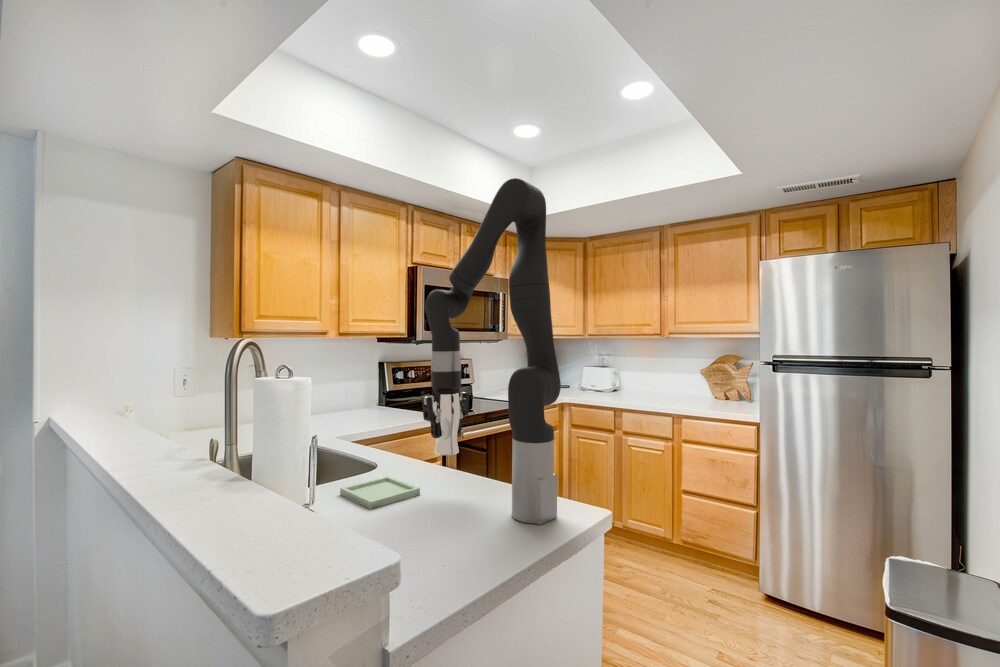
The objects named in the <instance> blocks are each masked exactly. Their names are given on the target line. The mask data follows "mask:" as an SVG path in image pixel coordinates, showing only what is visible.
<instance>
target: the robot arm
mask: <svg viewBox="0 0 1000 667" xmlns="http://www.w3.org/2000/svg"><path fill="white" fill-rule="evenodd" d="M545 198H546V197H545V196H544V193H543V192H542V190H540V188H538V187H537V186H534V185H532V184H531V183H529V182H527V181H525V180H524V179H522V178H518V177H516V178H515V177H514V178H510V179H508V180H506V181H504V182H503V183H502V185H500V187H499V188H498V190H497V191H496V193H495V195H494V197H493V199H492V201H491V204H490V205H489V207H488V209H487V211H486V213H485V215H484V217H483V219H482V222H481V223H480V225H479V227H478V229H477V231H476V232H475V235H474V237H473V239H472V240H471V243H470V244H469V246H468V248H467V249H466V251H465V252H464V253H463V255H462V256H461V258H460V259H459V261H458V262H457V263H456V265H455V266H454V267H453V270H452V271H451V272H450V274H449V277H448V279H449V282H450V284H451V285H452V287H451V288H450V290H444V289H434V290H432V291H430V292H429V294H428V295H427V297H426V299H425V304H424V308H425V309H424V310H425V315H426V318H427V324H428V326H429V329H430V334H431V360H430V371H431V372H430V377H431V378H430V381H431V382H430V383H431V384H430V385H431V389H432V394H431V395H429V396H422V397H421V404H422V405H421V406H422V415H423V420H424V421H427V422H429V423H430V434H431V437H432V438H433V439H436V438H440V423H439V421H440V414H441V409H440V410H439V411H437V412H436V413H437V415H436V417H434V412H435V411H434V410H433V403H435V400H436V402H437V403H439V399H440V394H456V393H457V392H459V398H460V420H459V427H458V433H457V435H460V434H461V433H462V430H463V425H462V424H463V418H464V417H466V416H467V417H468V415H469V409H470V408H469V406H470V405H469V404H470V393H469V392H464V391H461V390H460V388H461V387H462V358H461V343H460V342H461V338H460V337H461V336H460V331H459V330H458V329H456V327H455V328H454V327H453V326H452V325H451V321H450V319H456V318H459V317H460V316H461V315H462V314H463V313H465V311H466V310H467V307H468V306H469V303H470V302H471V298H472V296H473V293H474V291H475V289H476V287H477V286H478V285H479V283H481V281H482V279H483V278H484V277H485V275H486V274H487V272H488V271H489V269H490V267H491V265H492V263H493V259H494V255H495V251H496V248H497V244H498V242H499V240H500V238H502V235H503V233H504V232H505V231H506V230H507V229H508V227H509V226H510V225H511V224H512V223H514V225H515V228H516V241H517V247H516V248H517V250H516V254H515V259H514V261H513V263H512V267H511V269H510V270H511V271H510V273H509V277H508V295H509V308H510V312H511V315H512V318H513V320H514V322H515V324H516V326H517V328H518V330H519V333H520V334H521V336H522V339H523V341H524V344H525V348H526V355H527V356H526V357H527V366H525V367H520V368H518V369H516V370H515V371H514V372H513V373H512V374H511V376H510V379H509V381H508V385H507V387H508V388H507V401H508V402H507V403H508V404H507V405H508V422H509V426H510V429H511V432H512V440H511V441H512V444H511V445H512V446H511V447H512V451H511V452H512V453H511V454H512V455H511V456H512V457H511V458H512V459H511V464H512V465H511V516H512V518H513V519H515V520H516V521H518V522H522V523H527V524H536V525H540V526H541V525H543V524H545V523H548V522H549V521H551V520H554V519H556V518H557V517H558V473H557V474H556V473H554V472H555V470H554V469H555V468H554V465H555V464H554V461H555V460H554V454H555V452H554V451H555V449H554V448H555V429H554V426H553V425H552V424H550V423H548V422H547V421H546V419H545V418H546V417H545V407H547V406H551V405H553V404H554V403H555V402H556V401H557V400H558V398H559V397H560V393H561V377H560V370H559V365H558V360H557V356H556V349H555V343H554V331H553V320H552V309H551V291H550V290H551V289H550V282H549V273H548V272H549V270H548V257H547V256H548V255H547V247H546V246H547V243H546V242H547V241H546V237H547V236H546V233H547V202H546V199H545ZM433 401H434V402H433Z"/></svg>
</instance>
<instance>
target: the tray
mask: <svg viewBox="0 0 1000 667" xmlns="http://www.w3.org/2000/svg"><path fill="white" fill-rule="evenodd" d="M339 489H340V490H339V493H340V496H342V497H344V498H347V499H349V500H351V501H353V502H355V503H356V504H360V505H362V506H364V507H365V508H367V509H369V510H373V509H375V508H380V507H383V506H386V505H390V504H393V503H396V502H399V501H402V500H406V499H410V498H412V497H416V496H419V495H421V488H420V487H419V486H415V485H413V484H410V483H408V482H405V481H402V480H401V479H397V478H394V477H392V476H389V475H388V476H384V477H383V476H382V477H380V478H376V479H372V480H368V481H364V482H360V483H355V484H352V485H347V486H343V487H340V488H339Z"/></svg>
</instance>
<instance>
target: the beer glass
mask: <svg viewBox="0 0 1000 667" xmlns="http://www.w3.org/2000/svg"><path fill="white" fill-rule="evenodd" d="M433 402H434V401H433ZM432 405H433V410H434V411H435V412H434V417H436V415H437V413H436V412H437V411H439V410H440V409H441V414H440V421H439V423H440V438H435V439H436V440H435V449H434V454H435V455H437V456H454V455H457V454H459V453H460V450H459V444H458V434H457V433H458V427H459V420H460V398H459V392H457V393H456V394H440V399H439V403H437V402H436V400H435V403H433V404H432Z"/></svg>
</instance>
